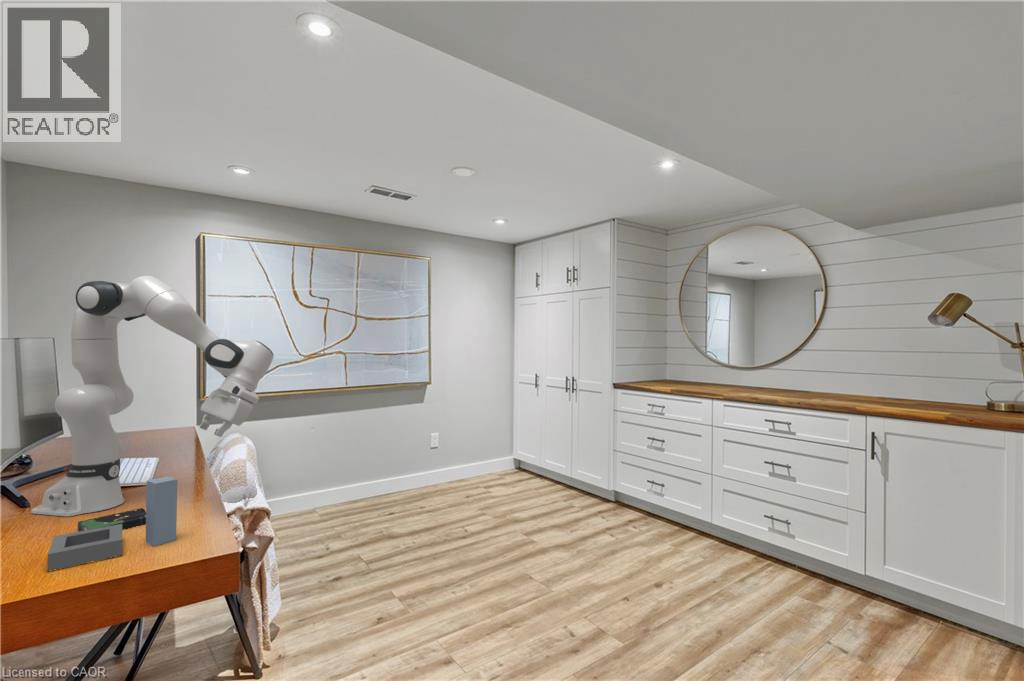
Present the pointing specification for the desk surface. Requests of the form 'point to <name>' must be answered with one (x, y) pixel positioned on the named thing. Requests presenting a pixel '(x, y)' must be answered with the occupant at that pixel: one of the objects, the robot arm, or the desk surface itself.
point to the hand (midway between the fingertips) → (209, 432)
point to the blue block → (161, 510)
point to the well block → (85, 547)
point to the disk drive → (116, 520)
